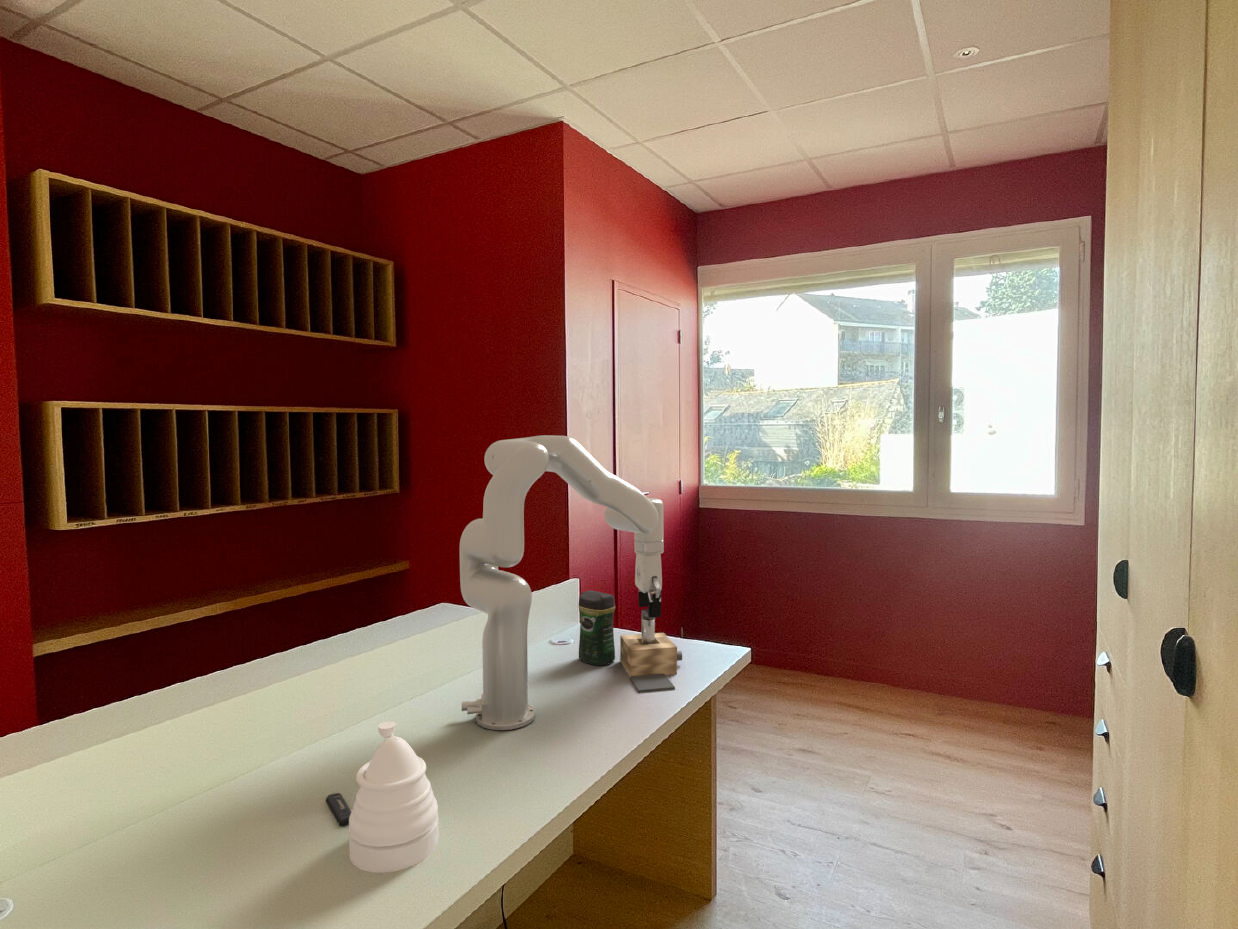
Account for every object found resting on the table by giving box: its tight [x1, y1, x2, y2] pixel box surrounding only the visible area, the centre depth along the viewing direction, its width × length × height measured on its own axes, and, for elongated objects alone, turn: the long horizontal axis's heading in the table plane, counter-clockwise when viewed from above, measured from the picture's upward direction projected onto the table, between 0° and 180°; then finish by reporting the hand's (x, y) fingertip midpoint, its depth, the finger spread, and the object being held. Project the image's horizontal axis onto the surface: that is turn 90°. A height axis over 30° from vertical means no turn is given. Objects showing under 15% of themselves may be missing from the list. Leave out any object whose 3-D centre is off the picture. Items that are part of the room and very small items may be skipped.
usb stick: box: [325, 792, 352, 828], centre depth 112 cm, size 10×3×2 cm, turn 36°
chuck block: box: [619, 632, 683, 677], centre depth 179 cm, size 15×12×7 cm
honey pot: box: [348, 720, 440, 874], centre depth 103 cm, size 13×13×18 cm
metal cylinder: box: [641, 608, 656, 645], centre depth 178 cm, size 3×3×12 cm
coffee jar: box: [578, 589, 616, 666], centre depth 183 cm, size 10×8×19 cm
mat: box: [629, 674, 676, 693], centre depth 167 cm, size 9×9×1 cm
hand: (649, 611), depth 178 cm, fingers open, 9 cm apart
